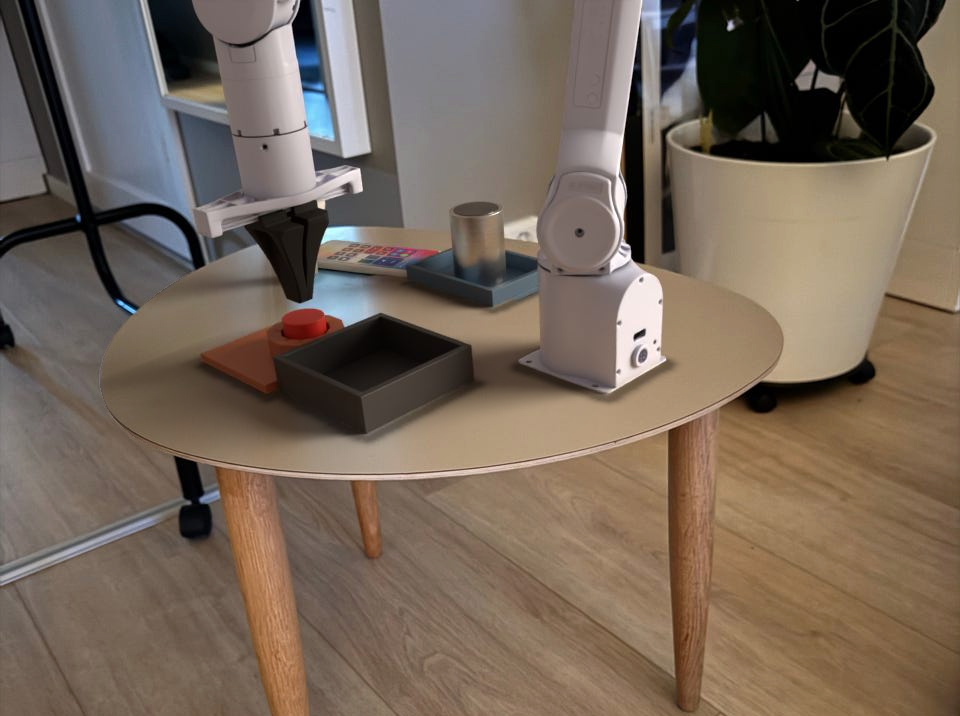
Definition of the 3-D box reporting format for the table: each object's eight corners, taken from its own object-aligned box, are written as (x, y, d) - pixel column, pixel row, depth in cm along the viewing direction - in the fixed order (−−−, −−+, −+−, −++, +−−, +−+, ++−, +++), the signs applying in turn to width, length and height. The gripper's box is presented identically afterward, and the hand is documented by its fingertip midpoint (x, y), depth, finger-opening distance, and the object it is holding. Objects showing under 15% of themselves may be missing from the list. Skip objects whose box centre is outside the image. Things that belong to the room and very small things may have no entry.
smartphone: (330, 238, 107) (446, 249, 101) (331, 246, 108) (447, 258, 102) (291, 258, 102) (412, 272, 96) (293, 267, 102) (412, 281, 96)
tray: (557, 282, 94) (557, 263, 93) (493, 311, 88) (491, 291, 87) (471, 258, 101) (470, 240, 100) (407, 284, 96) (405, 265, 95)
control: (363, 358, 82) (358, 325, 80) (269, 399, 76) (262, 366, 74) (294, 329, 88) (289, 299, 86) (203, 365, 82) (195, 334, 81)
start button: (335, 331, 80) (332, 314, 79) (301, 345, 78) (298, 328, 77) (310, 321, 82) (307, 304, 82) (276, 335, 80) (273, 318, 80)
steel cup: (517, 276, 95) (514, 206, 91) (480, 291, 92) (475, 220, 88) (480, 265, 98) (476, 197, 94) (444, 280, 95) (437, 210, 91)
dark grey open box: (475, 384, 76) (471, 344, 74) (366, 439, 69) (360, 397, 68) (385, 349, 83) (380, 312, 81) (279, 396, 76) (271, 356, 75)
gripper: (315, 105, 78) (339, 264, 85) (157, 142, 70) (198, 314, 77) (369, 114, 74) (389, 280, 81) (207, 155, 65) (246, 336, 73)
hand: (299, 298), depth 79 cm, fingers closed
